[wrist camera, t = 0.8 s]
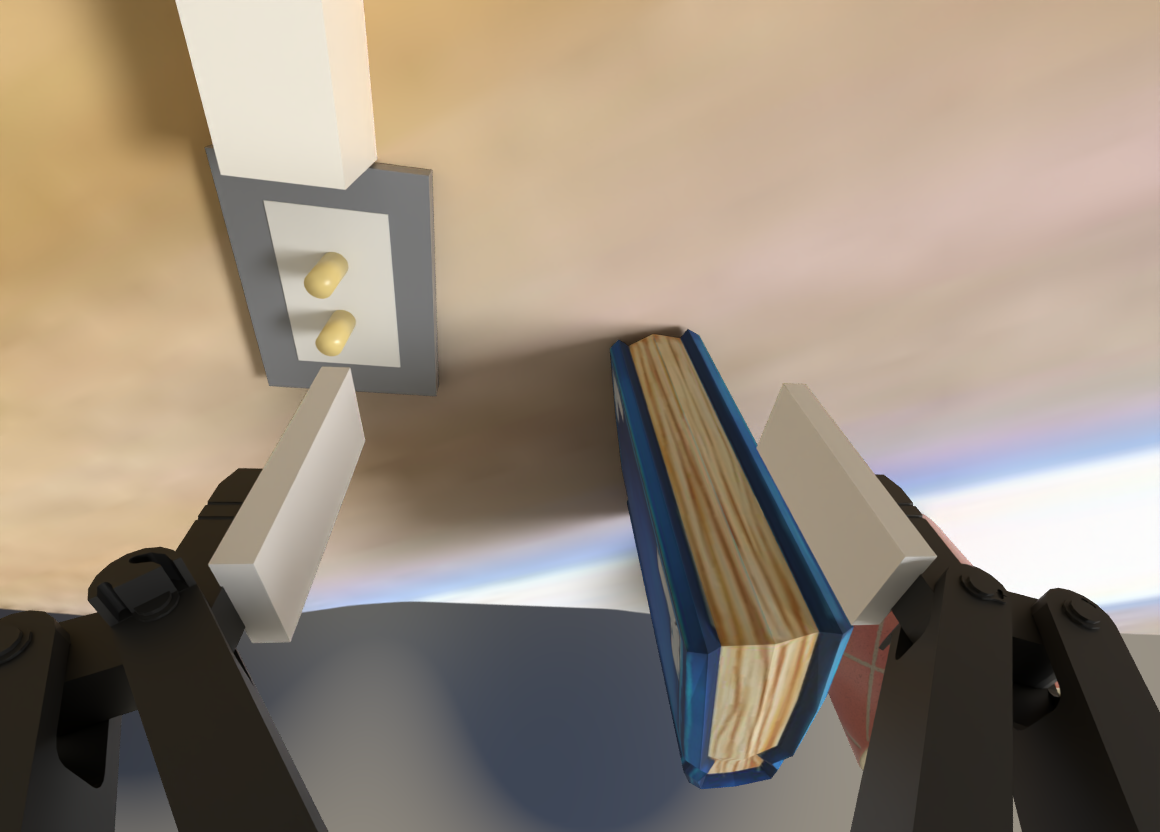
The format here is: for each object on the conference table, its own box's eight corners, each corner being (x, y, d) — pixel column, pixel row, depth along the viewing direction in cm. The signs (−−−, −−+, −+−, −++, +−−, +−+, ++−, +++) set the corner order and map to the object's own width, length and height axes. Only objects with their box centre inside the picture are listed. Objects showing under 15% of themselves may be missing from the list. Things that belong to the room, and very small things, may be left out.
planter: (831, 484, 52) (964, 683, 37) (973, 508, 57) (1145, 694, 41) (744, 591, 63) (818, 780, 47) (870, 604, 68) (974, 780, 52)
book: (692, 509, 53) (793, 799, 33) (625, 519, 53) (686, 815, 33) (696, 323, 39) (869, 625, 20) (606, 337, 40) (689, 652, 20)
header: (217, 142, 29) (170, 161, 25) (432, 169, 31) (419, 191, 27) (277, 374, 39) (249, 414, 35) (438, 385, 41) (429, 424, 37)
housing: (233, -80, 24) (146, -109, 19) (358, -56, 25) (311, -77, 19) (276, 146, 30) (220, 174, 24) (377, 159, 31) (345, 189, 25)
